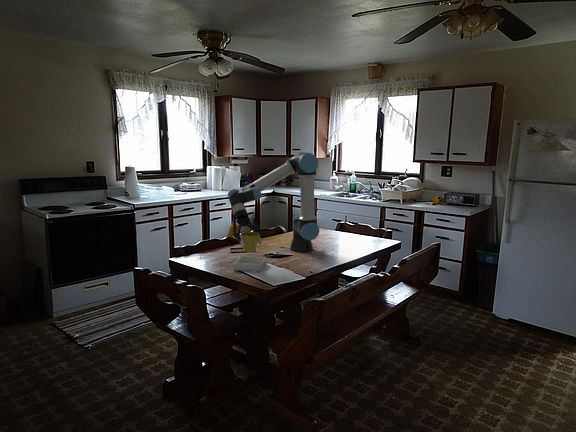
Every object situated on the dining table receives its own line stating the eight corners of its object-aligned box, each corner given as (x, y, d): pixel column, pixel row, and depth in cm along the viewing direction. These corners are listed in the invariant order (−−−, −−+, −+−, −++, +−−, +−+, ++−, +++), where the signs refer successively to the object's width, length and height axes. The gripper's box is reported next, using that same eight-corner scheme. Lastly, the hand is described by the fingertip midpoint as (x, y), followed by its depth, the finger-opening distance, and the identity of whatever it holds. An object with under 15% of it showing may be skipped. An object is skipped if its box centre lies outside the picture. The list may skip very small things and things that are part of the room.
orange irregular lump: (232, 242, 287) (232, 226, 285) (226, 240, 292) (226, 224, 290) (244, 240, 293) (244, 224, 291) (239, 238, 299) (239, 222, 297)
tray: (266, 264, 237) (266, 257, 236) (260, 272, 222) (260, 265, 221) (240, 262, 239) (240, 255, 239) (233, 270, 224) (233, 263, 223)
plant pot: (251, 253, 222) (251, 236, 220) (236, 250, 227) (236, 234, 225) (262, 249, 230) (262, 233, 229) (248, 247, 236) (248, 230, 234)
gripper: (255, 215, 244) (267, 245, 234) (220, 217, 233) (231, 250, 222) (259, 207, 239) (272, 239, 229) (223, 210, 227) (235, 243, 217)
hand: (252, 244), depth 226 cm, fingers closed on plant pot, 10 cm apart
